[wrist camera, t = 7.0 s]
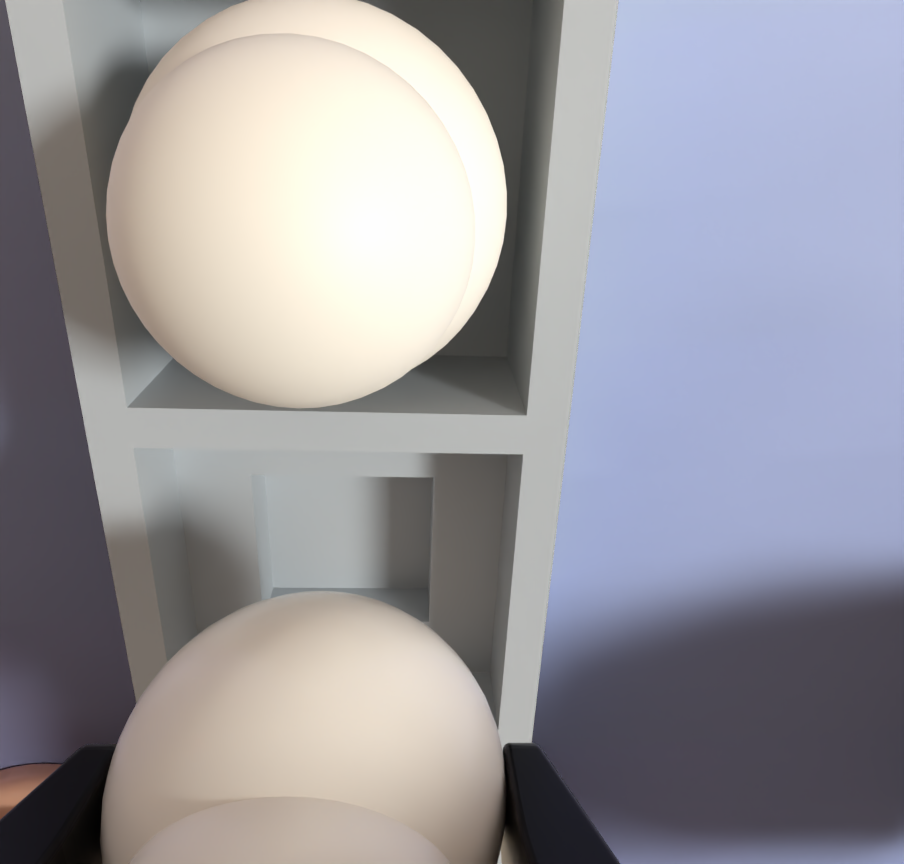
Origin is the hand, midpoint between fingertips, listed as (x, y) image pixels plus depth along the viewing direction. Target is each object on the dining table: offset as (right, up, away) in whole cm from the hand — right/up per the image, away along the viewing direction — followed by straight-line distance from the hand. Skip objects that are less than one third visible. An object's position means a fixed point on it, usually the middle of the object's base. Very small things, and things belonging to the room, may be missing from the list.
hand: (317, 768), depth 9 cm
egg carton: (-1, 0, +8) cm, 8 cm away
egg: (0, +1, +2) cm, 2 cm away
